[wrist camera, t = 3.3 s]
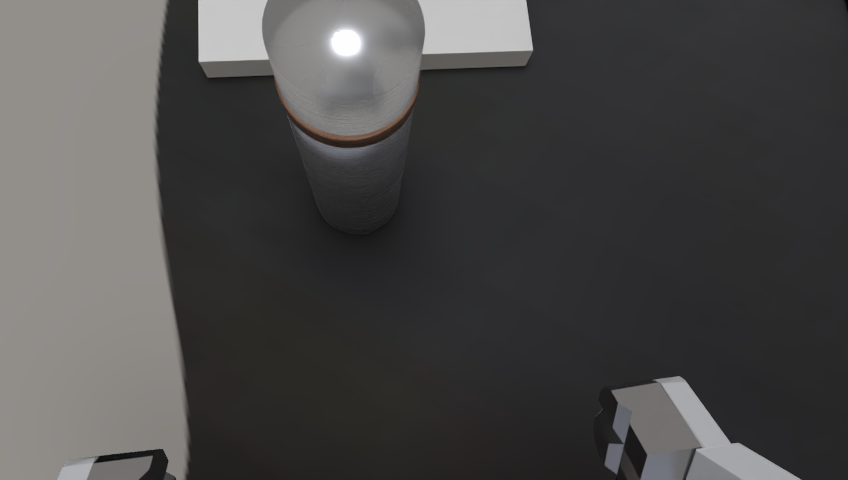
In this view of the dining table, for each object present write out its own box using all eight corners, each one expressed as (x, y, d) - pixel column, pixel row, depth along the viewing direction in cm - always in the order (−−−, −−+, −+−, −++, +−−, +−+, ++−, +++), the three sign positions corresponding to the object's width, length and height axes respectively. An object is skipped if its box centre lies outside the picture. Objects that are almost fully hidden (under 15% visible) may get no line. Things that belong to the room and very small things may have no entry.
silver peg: (346, 138, 29) (324, -74, 15) (416, 183, 28) (458, 10, 15) (296, 204, 28) (224, 43, 14) (368, 251, 27) (366, 135, 14)
